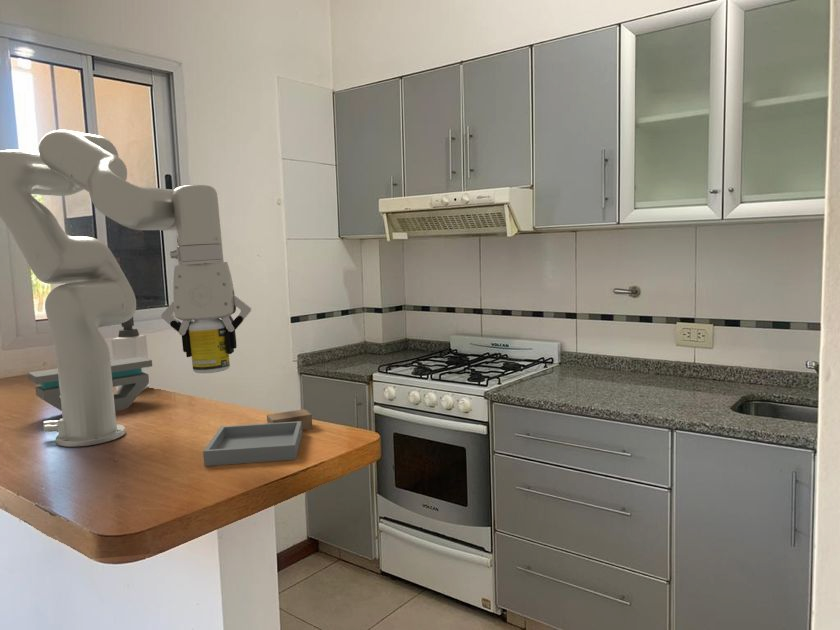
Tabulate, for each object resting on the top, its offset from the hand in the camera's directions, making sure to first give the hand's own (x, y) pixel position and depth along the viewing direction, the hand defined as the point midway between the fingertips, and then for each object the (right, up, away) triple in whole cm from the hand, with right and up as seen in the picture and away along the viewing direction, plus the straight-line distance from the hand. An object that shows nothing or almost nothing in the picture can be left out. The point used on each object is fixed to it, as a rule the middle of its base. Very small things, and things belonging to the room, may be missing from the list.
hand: (210, 353), depth 117 cm
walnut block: (+11, -16, +15) cm, 25 cm away
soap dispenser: (-41, -14, +58) cm, 72 cm away
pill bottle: (0, -3, 0) cm, 3 cm away
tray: (+8, -18, +2) cm, 20 cm away
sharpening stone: (-39, -16, +37) cm, 56 cm away
